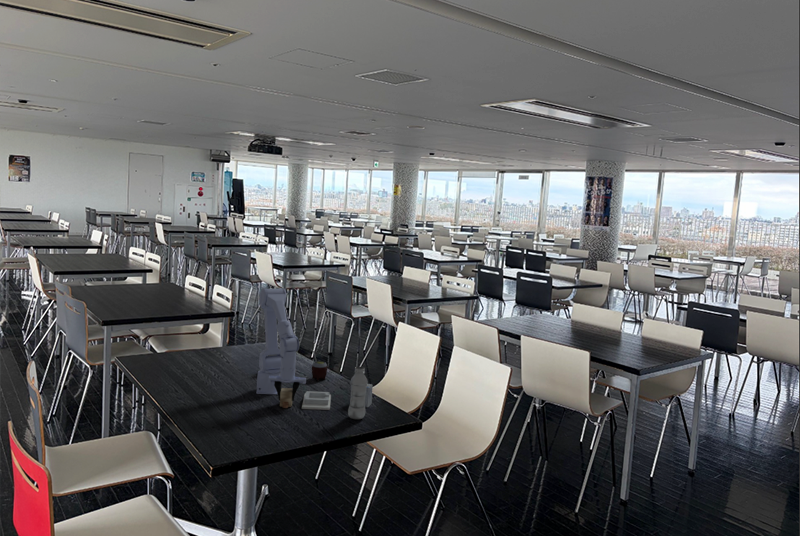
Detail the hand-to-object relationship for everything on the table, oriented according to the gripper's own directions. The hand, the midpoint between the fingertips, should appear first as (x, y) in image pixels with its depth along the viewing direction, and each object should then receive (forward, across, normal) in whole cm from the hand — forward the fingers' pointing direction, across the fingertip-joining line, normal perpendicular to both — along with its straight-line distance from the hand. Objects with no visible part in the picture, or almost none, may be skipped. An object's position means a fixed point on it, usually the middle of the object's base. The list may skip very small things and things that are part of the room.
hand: (286, 399), depth 238 cm
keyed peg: (+2, 0, 0) cm, 2 cm away
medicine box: (+2, +30, +4) cm, 30 cm away
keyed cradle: (+2, +12, +4) cm, 13 cm away
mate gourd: (+2, +11, +34) cm, 36 cm away
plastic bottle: (+2, +28, -11) cm, 30 cm away
